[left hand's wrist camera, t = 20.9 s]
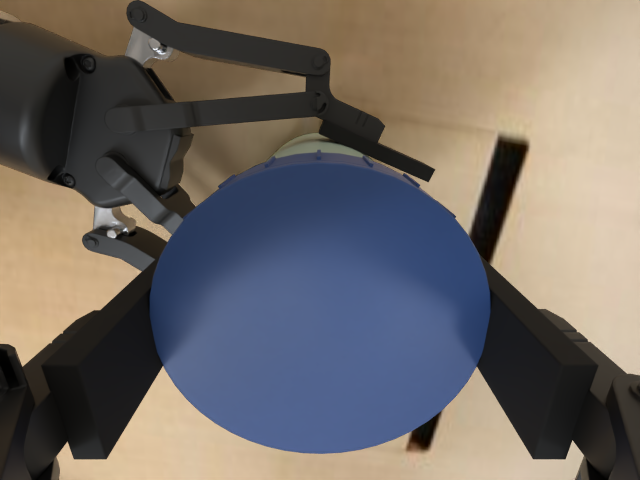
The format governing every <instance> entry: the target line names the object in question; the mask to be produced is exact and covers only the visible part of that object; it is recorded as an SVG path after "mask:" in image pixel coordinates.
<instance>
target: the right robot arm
mask: <svg viewBox="0 0 640 480" xmlns="http://www.w3.org/2000/svg"><path fill="white" fill-rule="evenodd" d="M127 18H128V20H129V22H130V23H131V25H132V26H134V28H133V31H132V34H131V37H130V40H129V43H128V47H127V50H126V53H125V55H118V56H105V55H103V54H101V53H98V52H96V51H94V50H91V49H89V48H87V47H84V46H82V45H80V44H77V43H75V42H73V41H71V40H68V39H66V38H64V37H61V36H59V35H57V34H54V33H52V32H50V31H48V30H45V29H43V28H41V27H38V26H36V25H33V24H30V23H25V22H22V21H21V20H19V19H18V18H16V17H15V16H13V15H11V14H9V13H6V12H4V11H2V10H0V164H1V165H4V166H6V167H9V168H12V169H14V170H17V171H20V172H22V173H25V174H28V175H30V176H33V177H36V178H38V179H41V180H44V181H46V182H50V183H53V184H57V185H61V186H65V187H68V188H71V189H74V190H76V191H77V192H79V193H80V194H82V195H83V196H84V197H85V198H86V199H87V200H88V201H89V202H90V203H92V204H93V205H95V209H94V223H93V230H92V231H90V232H88V233H86V234H85V235H84V236H83V238H82V242H83V245H84V246H85V247H86V248H87V249H88V250H90V251H93V252H96V253H100V254H104V255H108V256H112V257H116V258H120V259H122V260H124V261H125V262H127V263H129V264H130V265H132V266H134V267H136V268H137V269H139V270H141V271H143V270H144V269H146V268H147V267H148V266H149V265H150V264H151V263H152V262H153V261H154V260H155V259H156V258H157V257H158V256H160V255H161V254H162V252H163V250H164V248H165V246H166V245H167V243H168V242H166V241H165V240H163V239H162V238H160V237H158V236H157V235H155V234H153V233H152V232H150V231H148V230H146V229H143V228H141V227H138V226H135V225H136V221H135V219H133V218H129V217H127V216H125V215H124V214H123V213H122V212H121V209H120V206H124V205H128V204H132V203H133V204H134V205H135V206H136V207H137V208H138V209H139V210H140V211H141V212H142V213H143V214H144V215H145V216H146V217H147V218H148V219H149V220H151V221H152V222H154V223H156V224H160V225H162V226H163V227H164V228H165V229H167V230H168V231H169V232H170V233H171V234H172V235H173V233H174V232H175V231H176V229H177V228H178V227H179V225H180V224H181V223H182V221H183V220H184V219H183V218H184V216H185V215H187V214H188V213H189V212H190V211H192V210H193V209H194V208H195V205H194V204H193V203H192V202H191V201H190V197H189V195H188V194H187V193H186V192H185V191H184V190H183V189H182V188H181V187H180V186H179V185H178V183H180V181H181V177H182V174H183V157H184V156H185V154H186V152H187V151H188V149H189V148H190V145H191V142H192V138H193V135H194V134H192V133H191V132H190V127H196V126H207V125H219V124H231V123H243V122H255V121H267V120H279V119H291V118H303V117H318V118H320V119H322V120H323V122H322V125H321V127H320V129H319V134H320V135H322V136H325V137H327V138H329V139H331V140H334V141H336V142H338V143H340V144H343V145H345V146H347V147H349V148H352V149H354V150H356V151H359V152H361V153H363V154H365V155H368V156H370V157H372V158H374V159H377V160H379V161H381V162H384V163H386V164H388V165H390V166H393V167H395V168H397V169H399V170H402V171H404V172H406V173H409V174H411V175H413V176H415V177H418V178H420V179H422V180H424V181H427V182H429V180H430V178H431V177H432V175H433V173H434V171H435V169H433V168H431V167H430V166H428V165H426V164H424V163H422V162H420V161H418V160H416V159H413V158H411V157H409V156H407V155H404V154H402V153H400V152H398V151H396V150H393V149H391V148H389V147H387V146H384V145H382V144H380V143H378V140H379V138H380V136H381V134H382V132H383V130H384V127H385V125H384V124H383V123H382V122H381V121H380V120H379V119H378V118H376V117H374V116H371V115H369V114H367V113H365V112H363V111H361V110H358V109H356V108H354V107H352V106H350V105H347V104H345V103H343V102H341V101H339V100H337V99H335V98H334V97H333V95H332V94H331V92H330V88H329V80H330V57H329V54H328V53H327V52H326V51H325V50H323V49H320V48H315V47H309V46H304V45H298V44H293V43H287V42H282V41H277V40H271V39H266V38H260V37H255V36H249V35H244V34H238V33H233V32H228V31H222V30H217V29H211V28H206V27H200V26H195V25H190V24H184V23H179V22H176V21H175V20H173V19H171V18H170V17H168V16H166V15H165V14H163V13H161V12H160V11H158V10H156V9H155V8H153V7H151V6H149V5H148V4H146V3H144V2H142V1H139V0H135V1H132V2H131V3H130V4H129V5H128V7H127ZM180 51H181V52H183V53H186V54H188V55H191V56H194V57H198V58H202V59H207V60H212V61H218V62H224V63H229V64H235V65H240V66H246V67H252V68H257V69H263V70H268V71H274V72H280V73H285V74H291V75H296V76H302V77H306V92H299V93H287V94H276V95H264V96H252V97H241V98H229V99H217V100H206V101H193V102H177V103H176V102H175V101H174V99H173V98H172V96H171V95H170V93H169V92H168V91H167V89H166V88H165V86H164V85H163V83H162V82H161V81H160V79H159V78H158V76H157V75H156V73H155V72H154V71H153V69H152V68H151V67H152V65H153V63H154V62H156V61H158V60H164V61H168V62H172V61H174V60H176V59H177V58H178V56H179V53H180ZM160 196H161V197H162V198H161V197H160Z"/></svg>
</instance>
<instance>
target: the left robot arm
mask: <svg viewBox="0 0 640 480" xmlns="http://www.w3.org/2000/svg"><path fill="white" fill-rule="evenodd" d="M160 256H161V255H160ZM160 256H158V257H157V258H156V259H155V260H154V261H153V262H152V263H151V264H150V265H149V266H148V267H147V268H146V269H144V270H143V271H142V272H141V273H140V274H139V275H138V276H137V277H136V278H135V279H134V280H133V281H131V282H130V283H129V284H128V285H127V286H126V287H125V288H124V289H123V290H122V291H121V292H120V293H119V294H117V295H116V296H115V297H114V298H113V299H112V300H111V301H110V302H109V303H108V304H107V305H106V306H104V307H103V308H102V309H101V310H94V311H92V312H90V313H88V314H87V315H85V316H83V317H81V318H79V319H77V320H76V321H75V322H73V323H72V324H71V325H70V326H69V327H68V328H67V329H65V330H64V331H63V334H60V335H59V336H57V337H56V338H55V339H54V340H53V341H52V343H49V344H48V345H47V346H46V347H45V348H44V349H43V350H41V351H40V352H39V353H38V354H37V355H36V356H35V357H33V358H32V359H31V360H30V361H29V362H28V363H27V364H25V365H24V366H23V367H22V365H21V362H20V360H19V357H18V354H17V352H16V349H15V347H13V346H11V345H9V344H0V480H59V474H60V468H59V463H58V460H57V457H56V456H57V455H58V453H59V452H60V451H61V449H62V448H63V447H64V445H65V444H66V443H67V441H68V444H69V446H70V449H71V452H72V455H73V458H74V459H107V457H108V456H109V454H110V452H111V451H112V449H113V447H114V446H115V444H116V443H117V441H118V439H119V438H120V436H121V434H122V433H123V431H124V429H125V428H126V426H127V424H128V423H129V421H130V419H131V418H132V416H133V414H134V413H135V411H136V410H137V408H138V406H139V405H140V403H141V401H142V400H143V398H144V396H145V395H146V393H147V391H148V390H149V388H150V386H151V385H152V383H153V381H154V380H155V378H156V376H157V375H158V373H159V372H160V370H161V368H162V367H163V364H162V362H161V360H160V357H159V355H158V353H157V349H156V345H155V340H154V336H153V331H152V326H151V320H150V315H149V312H150V292H151V286H152V280H153V276H154V273H155V270H156V267H157V264H158V261H159V258H160ZM479 256H480V255H479ZM480 258H481V261H482V264H483V266H484V269H485V272H486V276H487V281H488V285H489V290H490V305H491V313H490V318H489V323H488V328H487V333H486V338H485V343H484V348H483V352H482V355H481V357H480V360H479V362H478V364H477V367H478V369H479V371H480V372H481V374H482V375H483V377H484V379H485V380H486V382H487V384H488V385H489V387H490V389H491V390H492V392H493V394H494V395H495V397H496V399H497V400H498V402H499V404H500V405H501V407H502V409H503V410H504V412H505V413H506V415H507V417H508V418H509V420H510V422H511V423H512V425H513V427H514V428H515V430H516V432H517V433H518V435H519V437H520V438H521V440H522V442H523V443H524V445H525V446H526V448H527V450H528V451H529V453H530V455H531V456H532V458H533V459H566V456H567V454H568V451H569V448H570V445H571V442H572V440H573V441H574V443H575V444H576V445H577V447H578V448H579V449H580V450H581V452H582V453H583V454H584V457H583V460H582V463H581V465H580V468H579V471H578V473H577V476H576V479H575V480H640V376H639V375H634V374H627V373H625V372H624V371H623V370H622V369H621V368H620V367H619V366H617V365H616V364H615V363H614V362H613V361H612V360H610V359H609V358H608V357H607V356H606V355H605V354H604V353H602V352H601V351H600V350H599V349H598V348H597V347H596V346H594V345H593V344H592V343H591V342H588V340H587V339H586V338H585V337H584V336H583V335H582V334H581V333H579V332H577V330H576V329H575V328H574V327H572V326H571V325H570V324H569V323H568V322H567V321H566V320H564V319H563V318H561V317H559V316H557V315H556V314H554V313H552V312H550V311H548V310H546V309H537V308H536V307H535V306H534V305H533V304H532V303H531V302H530V301H529V300H528V299H526V298H525V297H524V296H523V295H522V294H521V293H520V292H519V291H518V290H517V289H516V288H515V287H513V286H512V285H511V284H510V283H509V282H508V281H507V280H506V279H505V278H504V277H503V276H502V275H501V274H499V273H498V272H497V271H496V270H495V269H494V268H493V267H492V266H491V265H490V264H489V263H488V262H487V261H485V260H484V259H483V258H482V257H481V256H480Z"/></svg>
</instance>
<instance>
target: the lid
mask: <svg viewBox="0 0 640 480" xmlns="http://www.w3.org/2000/svg"><path fill="white" fill-rule="evenodd" d="M419 186H420V185H419V184H418V183H417V182H416V181H414V180H413V179H412V178H410V177H409V176H408V175H407V174H405V173H404V174H403V175H401V174H400V173H398V172H396V171H394V170H392V169H390V168H388V167H386V166H384V165H382V164H379V163H376V162H373V161H370V160H369V159H368V158H367V157H366V156H364V155H363V157H362V158H361V157H356V156H351V155H346V154H341V153H325V152H321V150H317V152H314V153H301V154H293V155H289V156H284V157H280V158H276V157H275V156H273V157H271V158H270V159H269V160H268V161H267V162H264V163H261V164H259V165H256V166H254V167H252V168H250V169H248V170H246V171H244V172H243V173H241V174H239V175H237V176H235V174H234V175H232V176H231V177H229V178H228V179H227V180H226V181H224V182H223V183H222V184H220V185H219V186H218V187H219V189H218V190H217V191H216V192H214V193H213V194H212V195H211V196H209V197H208V198H207V199H206V200H204V201H203V202H202V203H200V204H199V205H198V206H197V207H195V208H194V209H193V210H192V211H190V212H189V213H188V214H187V215H185V216H184V218H183V219H184V220H183V221H182V223H181V224H180V225H179V227H178V228H177V229H176V231H175V232H174V233H173V235H172V236H171V237H170V239H169V241H168V243H167V245H166V246H165V248H164V250H163V252H162V254H161V256H160V258H159V261H158V264H157V267H156V270H155V273H154V276H153V280H152V286H151V292H150V312H149V315H150V320H151V326H152V331H153V336H154V340H155V345H156V349H157V353H158V355H159V357H160V360H161V362H162V364H163V366H164V368H165V370H166V372H167V373H168V375H169V377H170V378H171V380H172V381H173V383H174V384H175V386H176V387H177V388H178V389H179V391H180V392H181V393H182V394H183V395H184V397H185V398H186V399H187V400H188V401H189V402H190V403H191V404H192V405H193V406H194V407H195V408H197V409H198V410H199V411H200V412H201V413H202V414H204V415H205V416H206V417H208V418H209V419H210V420H212V421H213V422H214V423H216V424H218V425H219V426H221V427H223V428H224V429H226V430H228V431H229V432H231V433H233V434H236V435H238V436H240V437H242V438H244V439H247V440H249V441H252V442H255V443H258V444H261V445H264V446H267V447H271V448H276V449H280V450H284V451H292V452H299V453H316V454H326V453H342V452H348V451H355V450H361V449H364V448H368V447H372V446H376V445H379V444H382V443H385V442H388V441H391V440H393V439H396V438H398V437H400V436H402V435H404V434H406V433H409V432H411V431H412V430H414V429H416V428H417V427H419V426H421V425H422V424H424V423H426V422H427V421H429V420H430V419H431V418H432V417H434V416H435V415H436V414H438V413H439V412H440V411H441V410H443V409H444V408H445V407H446V406H447V405H448V404H449V403H450V402H451V401H452V400H453V399H454V398H455V397H456V396H457V394H458V393H459V392H460V391H461V389H462V388H463V387H464V386H465V384H466V383H467V382H468V380H469V378H470V377H471V375H472V373H473V372H474V370H475V368H476V367H477V364H478V362H479V360H480V357H481V355H482V352H483V348H484V343H485V338H486V333H487V328H488V323H489V318H490V313H491V305H490V290H489V285H488V281H487V276H486V272H485V269H484V266H483V264H482V261H481V258H480V256H479V253H478V251H477V250H476V248H475V246H474V244H473V243H472V241H471V239H470V237H469V236H468V234H467V233H466V232H465V230H464V229H463V228H462V227H461V225H460V224H459V223H458V222H457V220H456V219H455V217H456V216H455V215H454V214H453V213H452V212H450V211H449V210H448V209H447V208H445V207H444V206H443V205H442V204H440V203H439V202H438V201H437V200H435V199H433V198H432V197H431V196H430V195H428V194H427V193H426V192H425V191H423V190H422V189H421V188H420V187H419Z"/></svg>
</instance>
